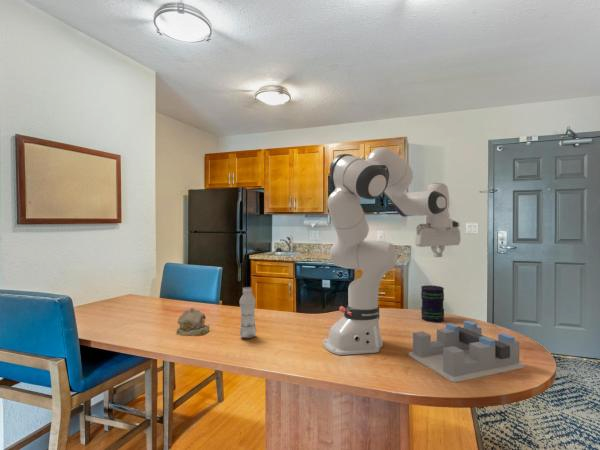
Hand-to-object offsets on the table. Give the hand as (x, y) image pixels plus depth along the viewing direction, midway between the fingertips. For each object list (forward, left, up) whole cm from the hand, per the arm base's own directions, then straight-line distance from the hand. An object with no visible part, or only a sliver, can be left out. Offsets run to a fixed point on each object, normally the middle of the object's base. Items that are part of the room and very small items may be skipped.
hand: (438, 257), depth 133 cm
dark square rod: (-6, -25, -27) cm, 37 cm away
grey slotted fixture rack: (-12, -25, -31) cm, 42 cm away
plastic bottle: (-75, +22, -31) cm, 84 cm away
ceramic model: (-96, +38, -32) cm, 108 cm away
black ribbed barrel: (+10, +15, -31) cm, 36 cm away
